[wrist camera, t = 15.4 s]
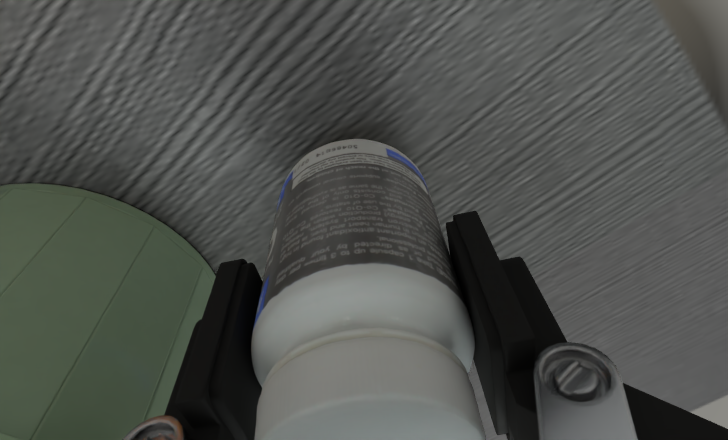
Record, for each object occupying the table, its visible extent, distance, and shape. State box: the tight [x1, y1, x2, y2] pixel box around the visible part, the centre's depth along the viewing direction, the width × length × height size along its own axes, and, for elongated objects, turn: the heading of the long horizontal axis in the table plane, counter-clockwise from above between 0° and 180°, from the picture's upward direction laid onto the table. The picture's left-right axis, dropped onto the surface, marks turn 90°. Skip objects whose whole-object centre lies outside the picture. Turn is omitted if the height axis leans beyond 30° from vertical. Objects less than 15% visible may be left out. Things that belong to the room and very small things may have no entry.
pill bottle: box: [251, 139, 486, 440], centre depth 11 cm, size 5×5×8 cm
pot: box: [0, 183, 216, 440], centre depth 15 cm, size 11×11×8 cm
